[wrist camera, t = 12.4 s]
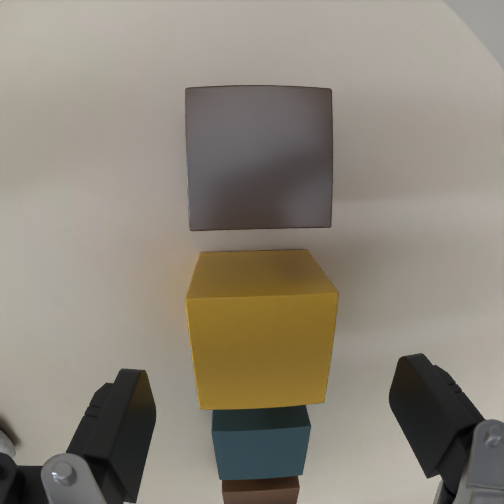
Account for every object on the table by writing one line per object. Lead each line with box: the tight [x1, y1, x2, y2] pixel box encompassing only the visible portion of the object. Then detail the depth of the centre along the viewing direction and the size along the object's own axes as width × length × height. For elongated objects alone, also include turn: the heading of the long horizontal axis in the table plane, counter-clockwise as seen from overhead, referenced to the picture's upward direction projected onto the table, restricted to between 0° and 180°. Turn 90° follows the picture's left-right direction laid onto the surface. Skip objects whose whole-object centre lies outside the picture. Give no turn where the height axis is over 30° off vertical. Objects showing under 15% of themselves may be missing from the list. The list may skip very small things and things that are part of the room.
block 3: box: [222, 476, 300, 504], centre depth 17 cm, size 4×4×4 cm
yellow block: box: [185, 250, 339, 410], centre depth 13 cm, size 5×5×5 cm
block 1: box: [185, 85, 333, 231], centre depth 11 cm, size 4×4×4 cm
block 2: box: [211, 405, 311, 480], centre depth 15 cm, size 4×4×4 cm
